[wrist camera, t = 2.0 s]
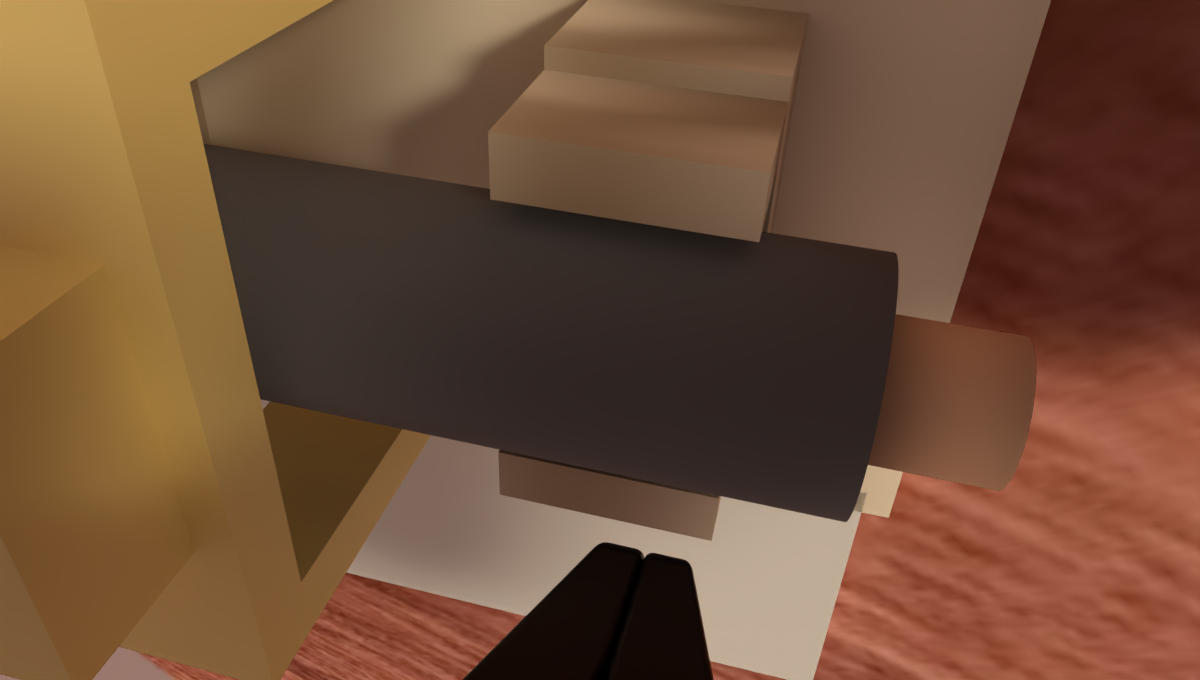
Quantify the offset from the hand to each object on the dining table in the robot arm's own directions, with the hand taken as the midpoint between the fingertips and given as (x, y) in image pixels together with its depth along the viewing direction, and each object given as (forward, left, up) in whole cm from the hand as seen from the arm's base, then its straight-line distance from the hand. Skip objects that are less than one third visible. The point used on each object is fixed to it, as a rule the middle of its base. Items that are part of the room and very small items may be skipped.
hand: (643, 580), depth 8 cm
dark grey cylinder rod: (+6, 0, -4) cm, 7 cm away
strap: (+6, 0, -8) cm, 10 cm away
